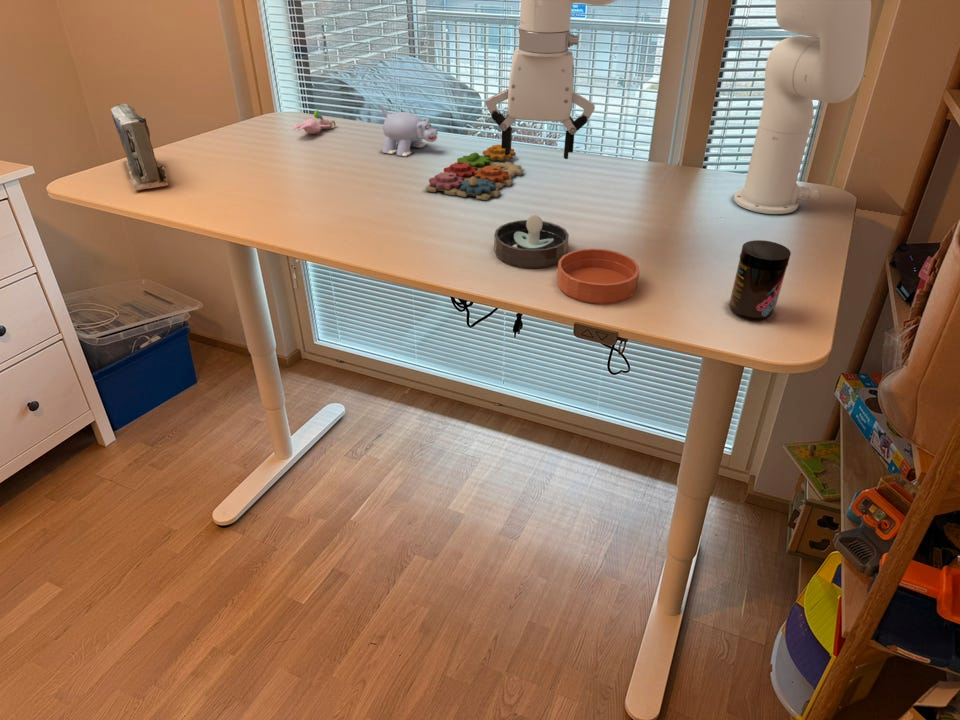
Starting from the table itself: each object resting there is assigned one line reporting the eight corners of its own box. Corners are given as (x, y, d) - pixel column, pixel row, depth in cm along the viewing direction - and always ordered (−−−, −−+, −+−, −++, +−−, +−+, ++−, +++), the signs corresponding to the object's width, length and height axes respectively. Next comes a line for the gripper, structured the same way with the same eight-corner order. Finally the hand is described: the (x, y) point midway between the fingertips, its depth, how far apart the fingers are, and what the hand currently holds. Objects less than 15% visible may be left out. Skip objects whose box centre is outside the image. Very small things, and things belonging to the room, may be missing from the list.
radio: (126, 161, 165) (107, 96, 156) (165, 157, 167) (148, 92, 159) (126, 194, 147) (104, 123, 138) (169, 188, 150) (150, 118, 141)
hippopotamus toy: (425, 160, 166) (424, 119, 160) (372, 151, 171) (368, 112, 165) (446, 147, 174) (445, 108, 168) (394, 140, 179) (392, 101, 174)
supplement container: (746, 326, 103) (763, 263, 97) (718, 305, 108) (732, 244, 102) (783, 318, 105) (801, 255, 99) (753, 297, 110) (769, 237, 104)
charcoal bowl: (568, 239, 128) (569, 222, 126) (565, 271, 118) (567, 252, 116) (499, 235, 130) (499, 218, 128) (490, 266, 119) (490, 247, 117)
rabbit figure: (322, 130, 191) (286, 135, 178) (321, 107, 188) (285, 110, 176) (340, 133, 189) (305, 138, 176) (340, 110, 186) (304, 113, 174)
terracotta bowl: (634, 269, 118) (637, 251, 116) (638, 307, 108) (641, 287, 106) (558, 265, 120) (560, 246, 118) (554, 301, 109) (556, 281, 107)
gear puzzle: (478, 150, 172) (478, 133, 170) (540, 158, 167) (541, 141, 165) (422, 192, 148) (421, 173, 146) (492, 203, 143) (492, 184, 141)
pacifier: (542, 262, 120) (556, 248, 124) (544, 229, 116) (558, 215, 121) (505, 253, 123) (519, 239, 127) (505, 220, 119) (520, 208, 123)
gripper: (601, 40, 107) (589, 151, 116) (490, 36, 109) (488, 145, 118) (601, 49, 101) (589, 165, 110) (483, 44, 103) (481, 158, 112)
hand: (536, 154), depth 114 cm, fingers open, 9 cm apart
